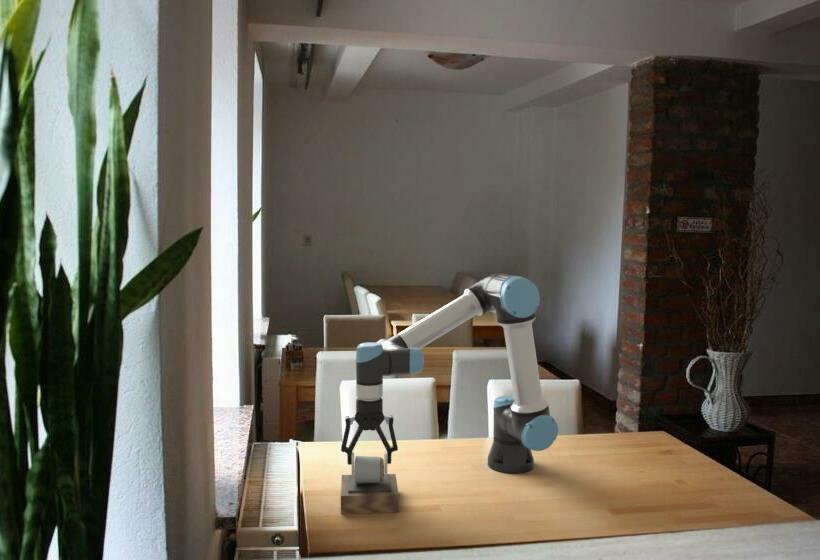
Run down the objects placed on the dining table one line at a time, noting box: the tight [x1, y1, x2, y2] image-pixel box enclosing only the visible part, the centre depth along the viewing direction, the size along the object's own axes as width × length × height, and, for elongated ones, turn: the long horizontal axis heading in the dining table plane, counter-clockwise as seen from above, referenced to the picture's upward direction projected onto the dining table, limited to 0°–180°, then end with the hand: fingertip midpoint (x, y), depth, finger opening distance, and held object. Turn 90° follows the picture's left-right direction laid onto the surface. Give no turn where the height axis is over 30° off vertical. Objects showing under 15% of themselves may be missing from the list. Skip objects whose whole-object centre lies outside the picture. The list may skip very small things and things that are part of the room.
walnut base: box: [340, 473, 400, 514], centre depth 209 cm, size 16×16×6 cm
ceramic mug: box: [354, 455, 384, 484], centre depth 210 cm, size 11×8×8 cm
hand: (369, 474), depth 209 cm, fingers open, 9 cm apart
